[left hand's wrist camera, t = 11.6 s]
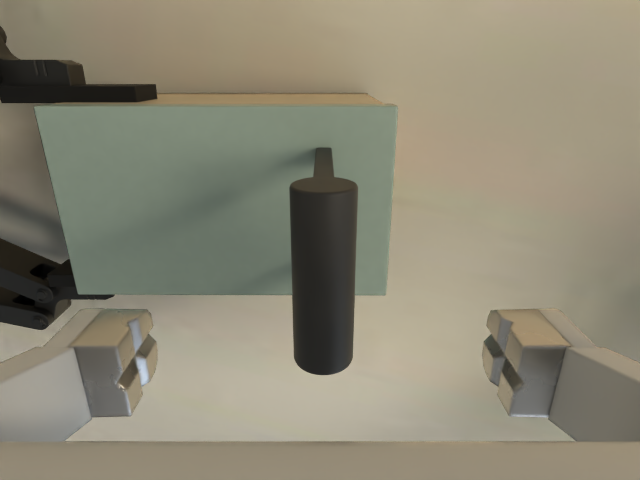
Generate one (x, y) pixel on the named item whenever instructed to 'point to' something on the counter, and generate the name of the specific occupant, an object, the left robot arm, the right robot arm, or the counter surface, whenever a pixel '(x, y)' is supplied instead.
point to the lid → (230, 205)
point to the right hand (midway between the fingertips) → (160, 188)
